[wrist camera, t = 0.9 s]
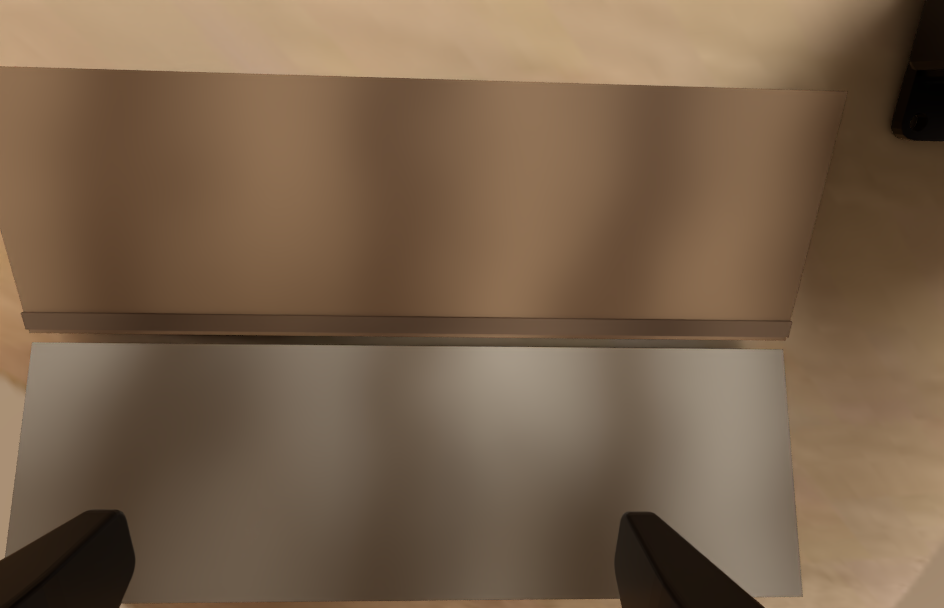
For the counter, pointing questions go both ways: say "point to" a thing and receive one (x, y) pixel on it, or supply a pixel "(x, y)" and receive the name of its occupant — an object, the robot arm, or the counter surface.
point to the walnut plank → (407, 205)
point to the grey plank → (407, 466)
